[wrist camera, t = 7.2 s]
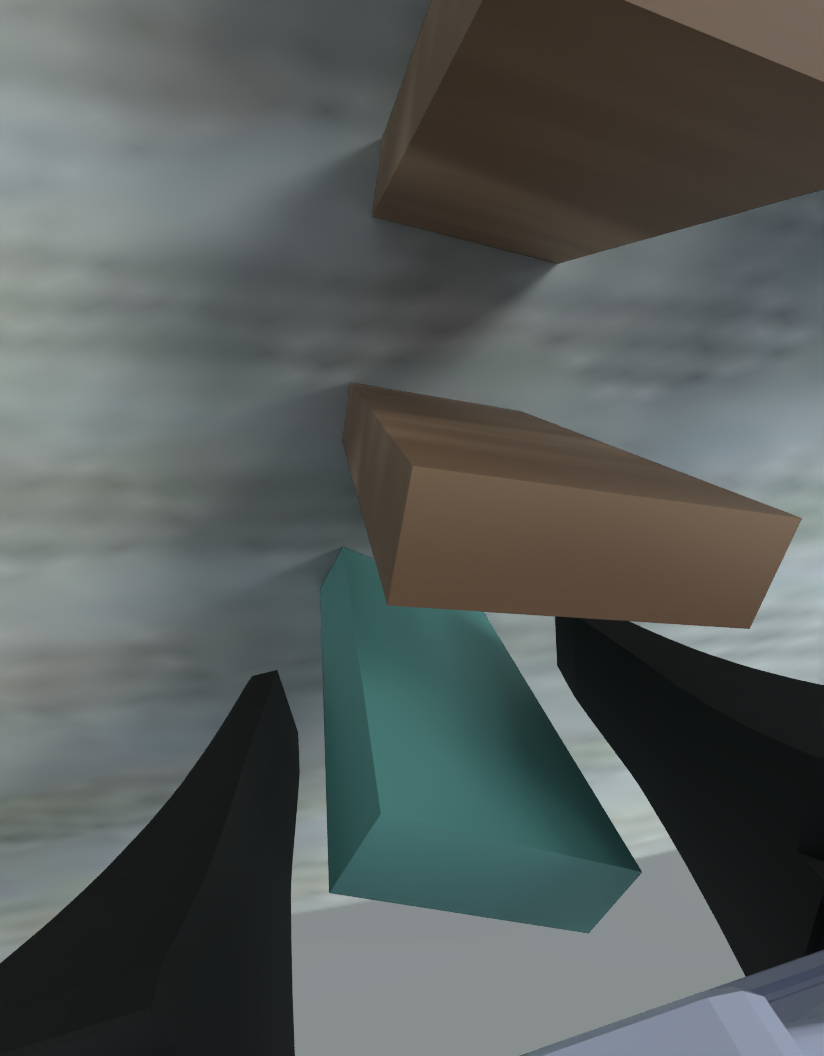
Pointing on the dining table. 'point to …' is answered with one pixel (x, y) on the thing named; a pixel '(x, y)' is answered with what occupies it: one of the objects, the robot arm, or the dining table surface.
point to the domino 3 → (451, 769)
